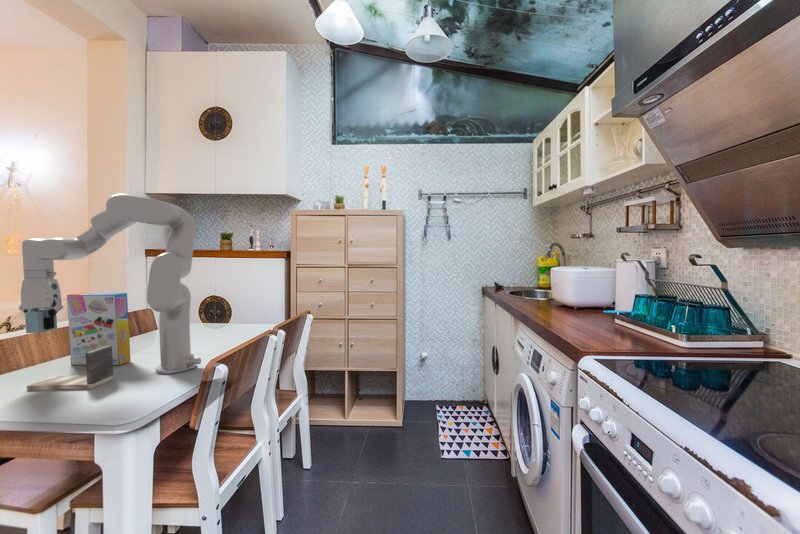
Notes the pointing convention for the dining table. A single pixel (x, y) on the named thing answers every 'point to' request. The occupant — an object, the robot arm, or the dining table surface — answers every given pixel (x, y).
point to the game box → (98, 325)
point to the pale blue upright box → (37, 321)
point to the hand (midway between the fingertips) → (42, 328)
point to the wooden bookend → (97, 374)
